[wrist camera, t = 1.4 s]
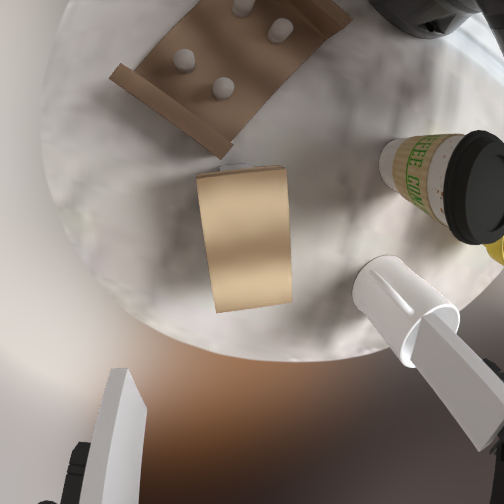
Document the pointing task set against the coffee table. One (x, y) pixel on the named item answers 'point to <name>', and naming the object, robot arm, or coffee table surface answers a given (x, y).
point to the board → (247, 236)
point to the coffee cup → (451, 181)
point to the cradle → (228, 63)
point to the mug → (399, 303)
